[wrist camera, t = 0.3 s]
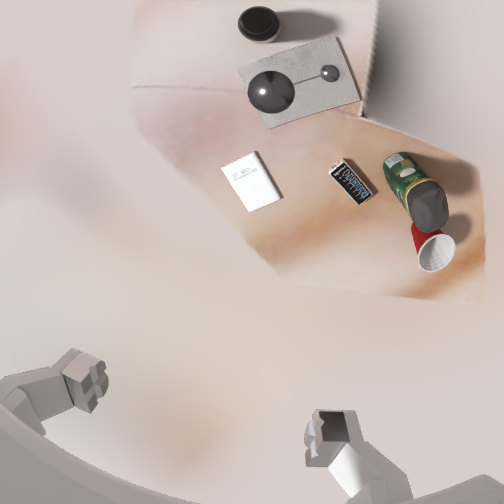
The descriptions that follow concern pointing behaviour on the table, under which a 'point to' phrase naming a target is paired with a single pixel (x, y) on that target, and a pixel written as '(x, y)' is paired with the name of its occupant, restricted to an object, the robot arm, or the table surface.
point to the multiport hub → (350, 181)
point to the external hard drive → (251, 181)
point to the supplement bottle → (259, 24)
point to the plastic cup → (433, 249)
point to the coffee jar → (416, 192)
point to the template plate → (299, 82)
